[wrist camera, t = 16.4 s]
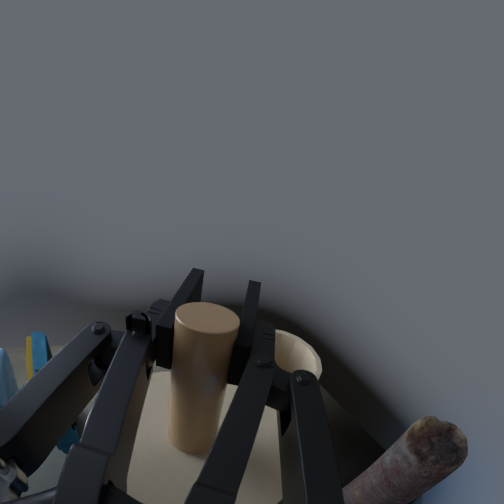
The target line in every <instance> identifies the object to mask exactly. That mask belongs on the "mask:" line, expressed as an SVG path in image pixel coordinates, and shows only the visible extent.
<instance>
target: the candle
mask: <svg viewBox="0 0 504 504" xmlns="http://www.w3.org/2000/svg"><path fill="white" fill-rule="evenodd" d="M467 451H468V446H467V439H466V436H465V435H464V434H463V432H462V431H461V430H460V429H458V428H457V426H455V425H454V424H452V423H450V422H447V421H439V420H438V419H437V418H436V417H434V416H426V417H424V418H420V419H419V420H417V421H416V422H414V423H413V424H412V425H411V427H409V428H408V429H407V431H406V432H405V433H404V434H403V435H402V436H401V437H400V438H399V439H398V440H397V441H396V442H395V443H394V444H393V445H392V446H391V447H390V448H389V449H388V450H387V451H386V452H385V453H384V454H383V455H382V456H381V457H380V458H379V459H377V460H376V461H375V462H374V463H373V464H372V465H371V466H370V467H369V468H367V469H366V470H365V471H364V472H363V473H361V474H360V475H359V476H358V477H356V478H355V479H354V480H353V481H351V482H350V483H349V484H348V485H346V486H345V487H344V488H342V492H343V497H344V502H345V504H408V503H409V502H411V501H413V500H414V499H416V498H417V497H419V496H420V495H422V494H423V493H425V492H426V491H428V490H429V489H431V488H432V487H434V486H435V485H436V484H437V483H439V482H441V481H442V480H444V479H445V478H446V477H447V476H449V475H450V474H451V473H452V472H454V471H455V470H456V469H457V468H458V467H460V466H461V465H462V463H463V462H464V460H465V459H466V457H467V454H468V453H467Z"/></svg>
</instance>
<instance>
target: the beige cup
mask: <svg viewBox="0 0 504 504" xmlns="http://www.w3.org/2000/svg"><path fill="white" fill-rule="evenodd" d="M275 361H276V364H277V365H278V366H279V367H280V368H281V369H283V370H285V371H287V372H290V373H292V372H293V371H295V370H300V369H303V370H308V371H310V372H312V373H313V374H314V375H315V376H316V377H317V379H318V380H319V377H320V375H321V373H322V366H321V360H320V357H319V356H318V355H317V353H316V352H315V351H314V349H313V348H312V346H310V345H309V344H307V343H306V342H305V341H303V340H302V339H301V338H299V337H297V336H295V335H292V334H290V333H287V332H285V331H281V330H276V334H275Z"/></svg>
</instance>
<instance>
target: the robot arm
mask: <svg viewBox="0 0 504 504" xmlns="http://www.w3.org/2000/svg"><path fill="white" fill-rule="evenodd" d="M203 276H204V270H199V269H195V268H193V269H192V270H191V272H190V273H189V275H188V276H187V278H186V279H185V281H184V282H183V284H182V285H181V287H180V288H179V290H178V291H177V293H176V294H175V296H174V297H173V299H172V300H171V301H167V300H162V299H159V300H157V301H155V302H153V304H152V305H151V306H150V308H149V309H148V310H147V312H143V311H133V312H130V313H128V314H127V315H126V331H113V330H111V327H110V325H109V324H107V323H106V322H103V321H95V322H92V323H90V324H89V325H87V326H86V327H85V328H84V329H83V330H82V331H81V332H80V333H79V334H77V335H76V336H75V337H74V338H73V339H72V340H71V341H70V342H69V343H68V344H66V345H65V346H64V347H63V348H62V349H61V350H60V351H59V352H58V353H57V354H56V355H55V356H54V357H53V358H51V359H50V360H49V361H48V362H47V363H46V364H45V365H44V366H43V367H42V368H41V369H40V370H39V371H38V372H37V373H36V374H35V375H34V376H33V377H32V378H31V379H30V380H29V381H28V382H27V383H26V384H25V385H24V386H23V387H22V388H21V389H20V390H18V386H17V383H16V379H15V375H14V372H13V368H12V365H11V362H10V359H9V357H8V355H7V354H6V352H5V351H4V350H3V349H1V348H0V504H143V503H141V502H139V501H138V500H136V499H134V498H133V497H131V496H130V495H128V494H127V475H128V470H129V466H130V461H131V456H132V452H133V447H134V443H135V439H136V434H137V430H138V426H139V422H140V418H141V414H142V410H143V406H144V402H145V398H146V395H147V391H148V387H149V384H150V380H151V376H152V373H153V363H154V361H155V359H156V366H160V367H163V368H167V369H170V368H171V356H172V343H173V331H174V320H175V312H176V310H177V308H178V307H180V306H181V305H183V304H186V303H192V302H200V301H201V293H202V284H203ZM260 286H261V282H256V281H251V280H249V284H248V289H247V294H246V298H245V303H244V307H243V311H242V316H241V320H240V327H239V332H238V336H237V338H236V343H235V347H234V352H233V357H232V362H231V367H230V372H229V376H228V381H227V384H231V385H236V386H238V387H237V389H236V392H235V394H234V397H233V399H232V401H231V404H230V406H229V409H228V411H227V413H226V416H225V418H224V420H223V423H222V425H221V427H220V429H219V432H218V434H217V436H216V439H215V441H214V443H213V445H212V448H211V450H210V452H209V454H208V457H207V459H206V461H205V463H204V465H203V468H202V470H201V472H200V474H199V476H198V478H197V480H196V482H195V483H194V484H193V486H192V487H191V489H190V491H189V493H188V495H187V498H186V500H185V502H184V504H235V501H236V498H237V493H238V490H239V487H240V484H241V481H242V478H243V475H244V472H245V469H246V466H247V463H248V460H249V457H250V454H251V451H252V448H253V445H254V442H255V438H256V435H257V432H258V429H259V425H260V422H261V419H262V415H263V412H264V409H265V405H266V406H268V407H270V408H273V409H275V410H277V411H276V412H277V426H278V439H279V453H280V467H281V481H282V496H283V504H345V502H344V497H343V492H342V487H341V482H340V477H339V472H338V467H337V462H336V458H335V453H334V448H333V444H332V439H331V435H330V430H329V426H328V421H327V417H326V412H325V408H324V404H323V400H322V395H321V391H320V387H319V383H318V379H317V377H316V376H315V375H314V374H313V373H312V372H310V371H308V370H303V369H300V370H295V371H293V372H292V373H290V372H287V371H285V370H283V369H281V368H280V367H279V366H278V365H277V364H276V361H275V334H276V329H275V328H274V326H273V324H272V323H266V322H262V321H256V316H257V307H258V301H259V294H260ZM98 391H99V392H98ZM97 392H98V394H97V397H96V399H95V402H94V404H93V407H92V409H91V412H90V414H89V417H88V419H87V422H86V425H85V427H84V430H83V433H82V435H81V438H80V441H79V442H78V443H74V444H73V445H72V446H71V447H70V449H69V452H68V455H67V457H66V460H65V463H64V466H63V469H62V472H61V475H60V479H59V482H58V485H57V487H55V488H52V489H49V490H46V491H43V492H40V493H36V494H33V495H30V496H26V497H22V498H20V496H21V493H22V492H26V491H27V490H28V488H29V485H28V479H27V477H29V476H30V475H31V474H33V473H34V472H35V471H36V470H37V469H38V468H39V467H40V465H41V464H42V463H43V462H44V461H45V459H46V458H47V456H48V455H49V454H50V452H51V451H52V450H53V448H54V447H55V446H56V444H57V443H58V442H59V441H60V439H61V438H62V437H63V435H64V434H65V433H66V431H67V430H68V429H69V427H70V426H71V425H72V424H73V422H74V421H75V420H76V418H77V417H78V416H79V415H80V413H81V412H82V411H83V409H84V408H85V407H86V406H87V404H88V403H89V402H90V401H91V399H92V398H93V397H94V396H95V394H96V393H97Z"/></svg>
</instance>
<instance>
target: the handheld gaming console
mask: <svg viewBox="0 0 504 504" xmlns="http://www.w3.org/2000/svg"><path fill="white" fill-rule="evenodd" d="M51 358H53V357H52V354H51V350H50V347H49V344H48V340H47V337H46V336H45V335H44V334H43V332H42V331H41V332H32V337H26V361H27V382H28V381H29V380H30V379H31V378H32V377H33V376H34V375H35V374H36V373H37V372H38V371H39V370H40V369H41V368H42V367H43V366H44V365H45V364H46V363H47V362H48V361H49V360H50V359H51ZM76 426H77V425H76V422H75V421H74V422H73V424H72V425H71V426H70V427H69V429H68V430H67V431H66V433H65V434H64V435H63V437H62V438H61V439H60V441H59V442H58V443H57V444H56V446H57V447H58V449H59V450H62V451H63V452H64V453H68V452H69V449H70V447H71V446H72V445H73V444H74V443H78V442H79V441H80V438H79V434H78V431H77V428H76Z"/></svg>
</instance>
